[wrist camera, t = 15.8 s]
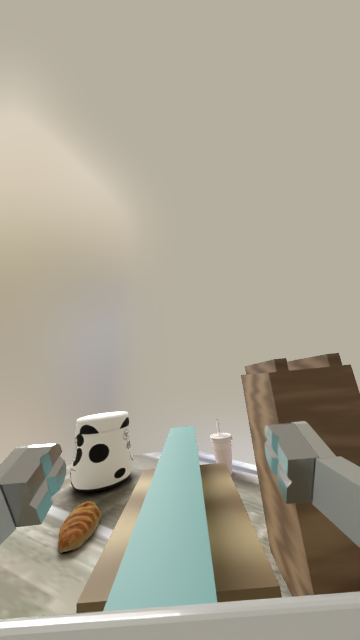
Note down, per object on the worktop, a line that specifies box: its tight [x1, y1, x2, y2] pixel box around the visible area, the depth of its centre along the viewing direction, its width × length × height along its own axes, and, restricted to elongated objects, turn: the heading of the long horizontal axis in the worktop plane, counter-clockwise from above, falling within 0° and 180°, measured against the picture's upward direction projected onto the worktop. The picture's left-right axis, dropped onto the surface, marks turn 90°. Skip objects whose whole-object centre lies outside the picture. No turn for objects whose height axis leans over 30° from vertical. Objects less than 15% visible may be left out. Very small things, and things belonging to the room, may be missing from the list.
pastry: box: [58, 501, 102, 553], centre depth 40 cm, size 9×7×4 cm
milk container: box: [70, 412, 133, 492], centre depth 63 cm, size 17×17×18 cm
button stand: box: [241, 353, 360, 597], centre depth 29 cm, size 14×11×28 cm
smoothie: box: [210, 419, 232, 475], centre depth 61 cm, size 6×6×14 cm
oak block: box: [77, 463, 282, 613], centre depth 16 cm, size 16×10×16 cm, turn 178°
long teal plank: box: [103, 426, 217, 611], centre depth 18 cm, size 26×4×4 cm, turn 178°
